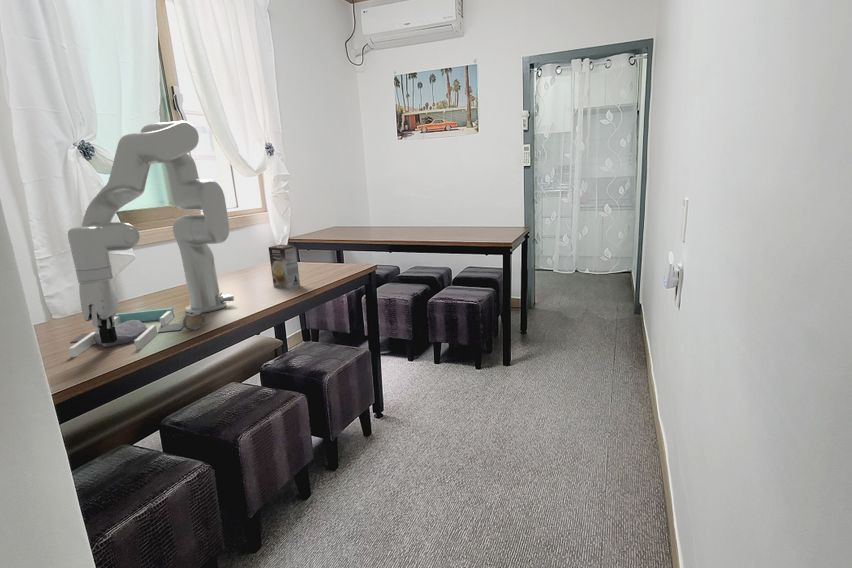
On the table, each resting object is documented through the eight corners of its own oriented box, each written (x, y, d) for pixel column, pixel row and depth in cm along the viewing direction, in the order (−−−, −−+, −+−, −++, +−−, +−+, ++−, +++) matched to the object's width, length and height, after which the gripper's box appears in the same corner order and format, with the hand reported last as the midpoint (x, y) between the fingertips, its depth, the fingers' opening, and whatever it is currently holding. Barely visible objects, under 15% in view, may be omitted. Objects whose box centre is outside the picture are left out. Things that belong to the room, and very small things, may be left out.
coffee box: (272, 287, 183) (267, 247, 180) (285, 283, 189) (280, 244, 185) (288, 289, 179) (283, 248, 175) (301, 285, 184) (296, 245, 180)
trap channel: (194, 314, 152) (193, 305, 151) (166, 346, 124) (163, 335, 123) (97, 325, 146) (94, 316, 146) (44, 360, 119) (41, 349, 118)
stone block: (154, 341, 134) (139, 329, 139) (152, 326, 132) (136, 315, 137) (107, 357, 125) (93, 343, 131) (104, 341, 123) (89, 328, 129)
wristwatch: (202, 325, 141) (199, 309, 139) (208, 326, 139) (205, 310, 138) (182, 331, 136) (179, 315, 134) (188, 333, 134) (185, 316, 133)
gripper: (92, 270, 126) (106, 334, 130) (63, 282, 112) (80, 353, 116) (122, 268, 128) (135, 331, 132) (98, 279, 114) (113, 350, 118)
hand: (109, 341), depth 124 cm, fingers closed
